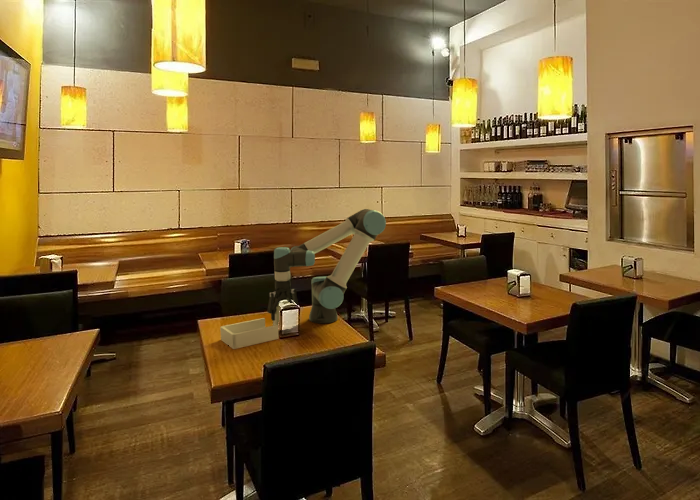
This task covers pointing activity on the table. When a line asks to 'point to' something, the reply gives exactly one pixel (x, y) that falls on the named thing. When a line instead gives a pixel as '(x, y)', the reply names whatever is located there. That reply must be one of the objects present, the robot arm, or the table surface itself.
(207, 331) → the table surface
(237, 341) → the open box
